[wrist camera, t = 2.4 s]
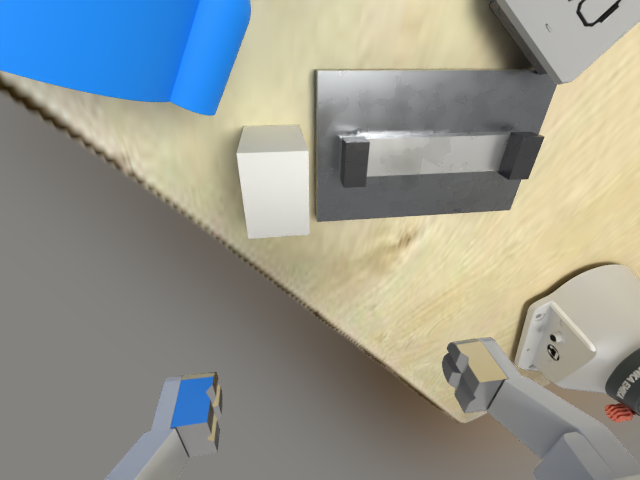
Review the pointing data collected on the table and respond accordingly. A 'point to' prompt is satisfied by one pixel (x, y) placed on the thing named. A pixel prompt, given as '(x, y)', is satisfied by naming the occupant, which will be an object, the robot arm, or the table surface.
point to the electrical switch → (565, 31)
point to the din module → (274, 180)
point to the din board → (424, 140)
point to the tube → (127, 47)
